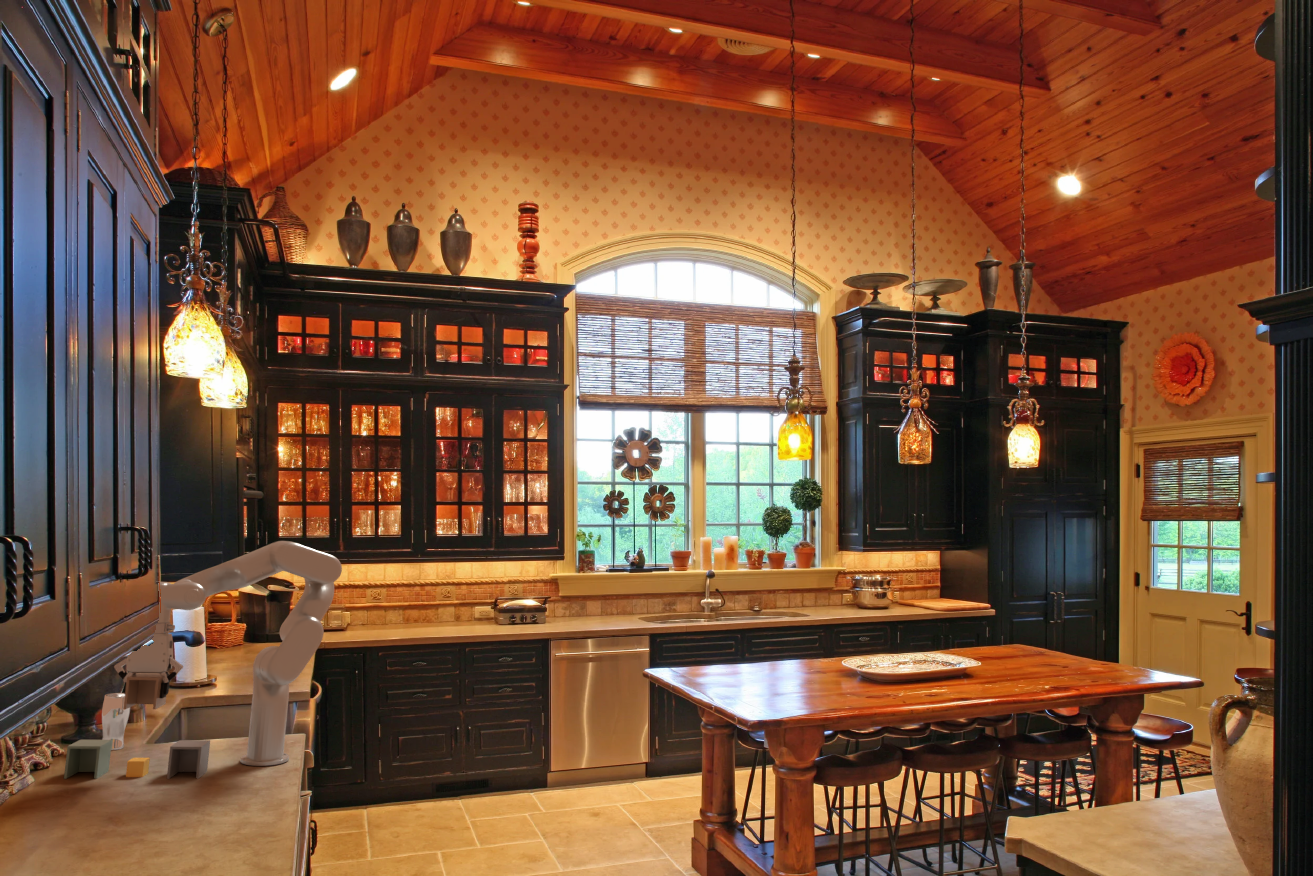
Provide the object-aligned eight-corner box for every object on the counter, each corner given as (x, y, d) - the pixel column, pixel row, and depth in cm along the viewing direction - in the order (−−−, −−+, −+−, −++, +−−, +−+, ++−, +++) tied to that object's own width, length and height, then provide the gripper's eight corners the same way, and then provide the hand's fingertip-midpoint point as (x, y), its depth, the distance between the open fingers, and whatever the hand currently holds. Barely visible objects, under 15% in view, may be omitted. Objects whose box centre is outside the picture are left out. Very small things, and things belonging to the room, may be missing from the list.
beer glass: (120, 744, 268) (125, 692, 270) (129, 748, 263) (135, 695, 265) (93, 747, 263) (100, 694, 264) (103, 752, 258) (109, 697, 260)
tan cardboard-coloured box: (134, 703, 242) (137, 672, 243) (165, 704, 243) (168, 673, 244) (123, 709, 234) (126, 677, 235) (155, 709, 236) (158, 677, 237)
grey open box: (176, 771, 242) (179, 740, 243) (207, 771, 243) (210, 740, 244) (166, 778, 235) (170, 746, 235) (198, 778, 236) (201, 746, 237)
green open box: (76, 771, 238) (80, 739, 239) (108, 771, 239) (112, 739, 240) (63, 778, 230) (67, 746, 231) (96, 778, 232) (100, 746, 232)
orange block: (131, 773, 238) (133, 757, 239) (148, 773, 239) (149, 757, 240) (125, 777, 234) (127, 761, 235) (142, 777, 235) (144, 761, 236)
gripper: (192, 628, 246) (186, 695, 244) (122, 626, 243) (115, 694, 241) (183, 631, 239) (176, 700, 237) (111, 629, 236) (103, 699, 234)
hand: (145, 696), depth 239 cm, fingers closed on tan cardboard-coloured box, 7 cm apart
